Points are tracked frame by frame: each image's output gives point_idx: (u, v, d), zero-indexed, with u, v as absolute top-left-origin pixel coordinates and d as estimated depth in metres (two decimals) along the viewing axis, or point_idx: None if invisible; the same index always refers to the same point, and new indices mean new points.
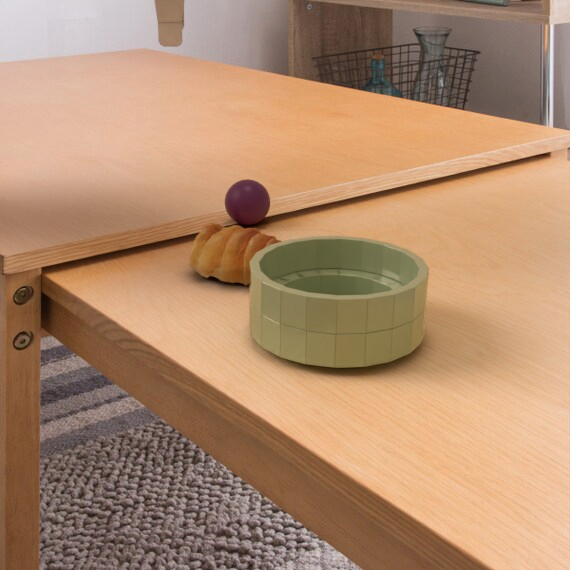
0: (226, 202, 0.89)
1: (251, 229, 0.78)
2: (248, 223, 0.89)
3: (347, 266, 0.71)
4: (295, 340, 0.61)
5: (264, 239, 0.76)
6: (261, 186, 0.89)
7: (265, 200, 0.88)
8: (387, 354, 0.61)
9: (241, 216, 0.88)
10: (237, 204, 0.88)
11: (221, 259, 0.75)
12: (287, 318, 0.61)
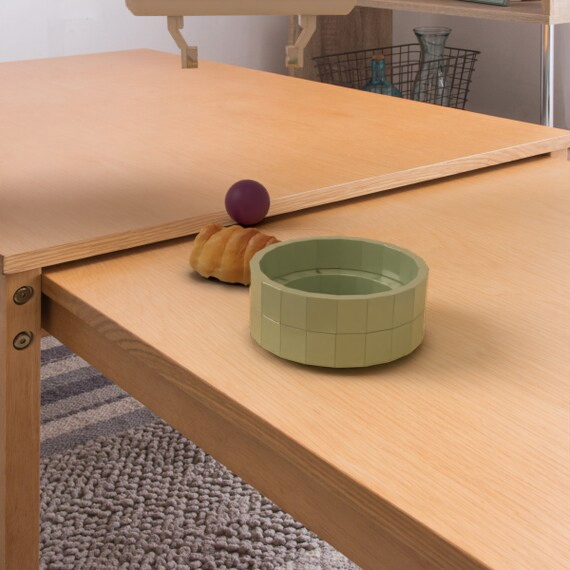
0: (226, 202, 0.89)
1: (251, 229, 0.78)
2: (248, 223, 0.89)
3: (347, 266, 0.71)
4: (295, 340, 0.61)
5: (264, 239, 0.76)
6: (261, 186, 0.89)
7: (265, 200, 0.88)
8: (387, 354, 0.61)
9: (241, 216, 0.88)
10: (237, 204, 0.88)
11: (221, 259, 0.75)
12: (287, 318, 0.61)
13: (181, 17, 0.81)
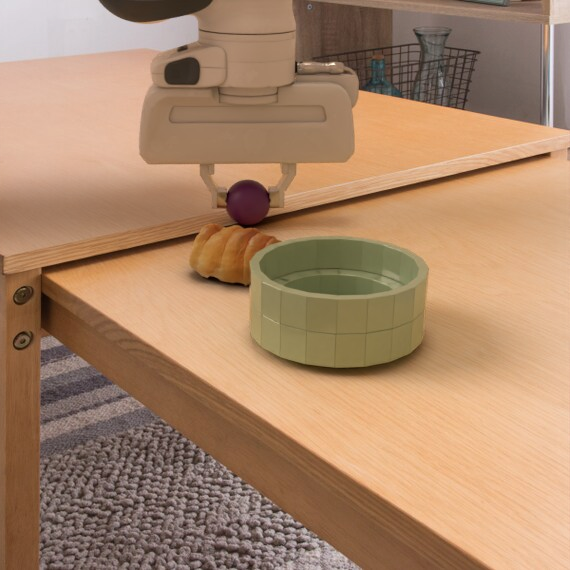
0: None
1: (251, 229, 0.78)
2: (248, 223, 0.89)
3: (347, 266, 0.71)
4: (295, 340, 0.61)
5: (264, 239, 0.76)
6: (261, 186, 0.89)
7: (266, 201, 0.88)
8: (387, 354, 0.61)
9: (241, 216, 0.88)
10: (237, 204, 0.88)
11: (221, 259, 0.75)
12: (287, 318, 0.61)
13: (213, 164, 0.87)
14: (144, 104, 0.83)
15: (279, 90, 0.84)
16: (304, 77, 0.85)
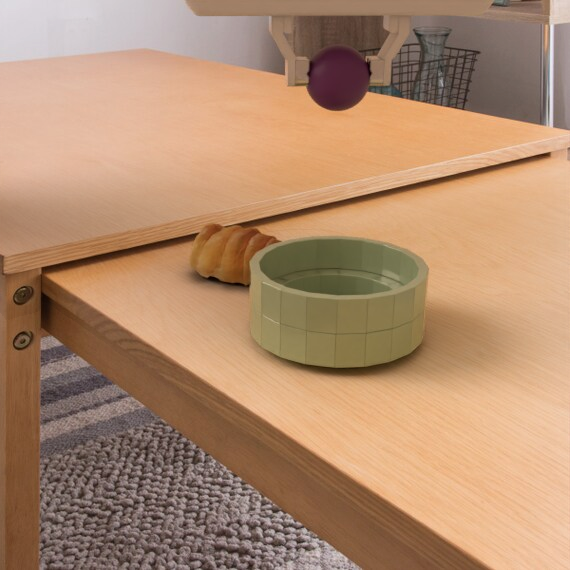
0: None
1: (251, 229, 0.78)
2: (340, 107, 0.62)
3: (347, 266, 0.71)
4: (295, 340, 0.61)
5: (264, 239, 0.76)
6: (358, 53, 0.62)
7: (365, 73, 0.61)
8: (387, 354, 0.61)
9: (331, 95, 0.61)
10: (326, 76, 0.60)
11: (221, 259, 0.75)
12: (287, 318, 0.61)
13: (291, 17, 0.60)
14: None
15: None
16: None
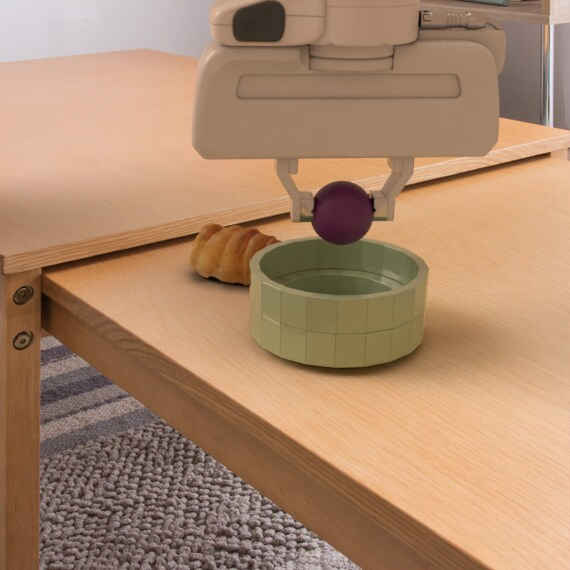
0: (313, 213, 0.62)
1: (251, 229, 0.78)
2: (344, 243, 0.63)
3: (347, 266, 0.71)
4: (295, 340, 0.61)
5: (264, 239, 0.76)
6: (362, 190, 0.62)
7: (369, 211, 0.62)
8: (387, 354, 0.61)
9: (335, 233, 0.62)
10: (330, 216, 0.61)
11: (221, 259, 0.75)
12: (287, 318, 0.61)
13: (296, 159, 0.61)
14: (201, 71, 0.57)
15: (396, 51, 0.58)
16: (430, 34, 0.59)
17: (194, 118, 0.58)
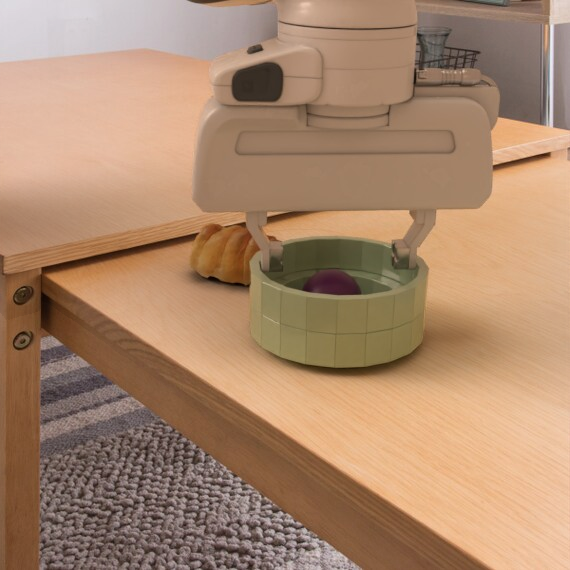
0: None
1: None
2: None
3: (347, 266, 0.71)
4: (295, 340, 0.61)
5: None
6: (346, 276, 0.65)
7: None
8: (387, 354, 0.61)
9: None
10: None
11: (221, 259, 0.75)
12: (287, 318, 0.61)
13: (265, 212, 0.62)
14: (201, 129, 0.58)
15: (392, 109, 0.59)
16: (425, 90, 0.60)
17: (194, 173, 0.59)
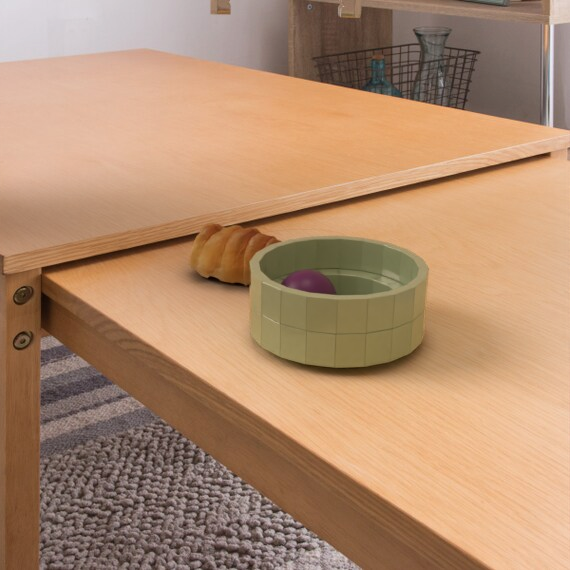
0: None
1: (251, 229, 0.78)
2: None
3: (347, 266, 0.71)
4: (295, 340, 0.61)
5: (264, 239, 0.76)
6: (297, 276, 0.64)
7: (315, 285, 0.64)
8: (387, 354, 0.61)
9: None
10: None
11: (221, 259, 0.75)
12: (287, 318, 0.61)
13: None
14: None
15: None
16: None
17: None
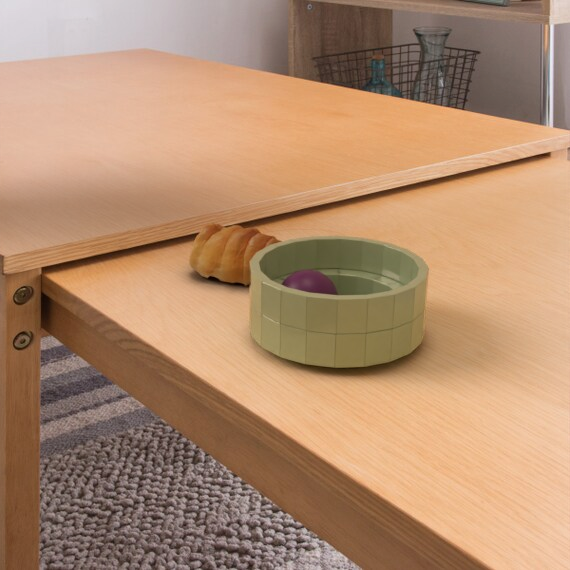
0: None
1: (251, 229, 0.78)
2: None
3: (347, 266, 0.71)
4: (295, 340, 0.61)
5: (264, 239, 0.76)
6: (299, 276, 0.64)
7: (317, 285, 0.64)
8: (387, 354, 0.61)
9: None
10: None
11: (221, 259, 0.75)
12: (287, 318, 0.61)
13: None
14: None
15: None
16: None
17: None
